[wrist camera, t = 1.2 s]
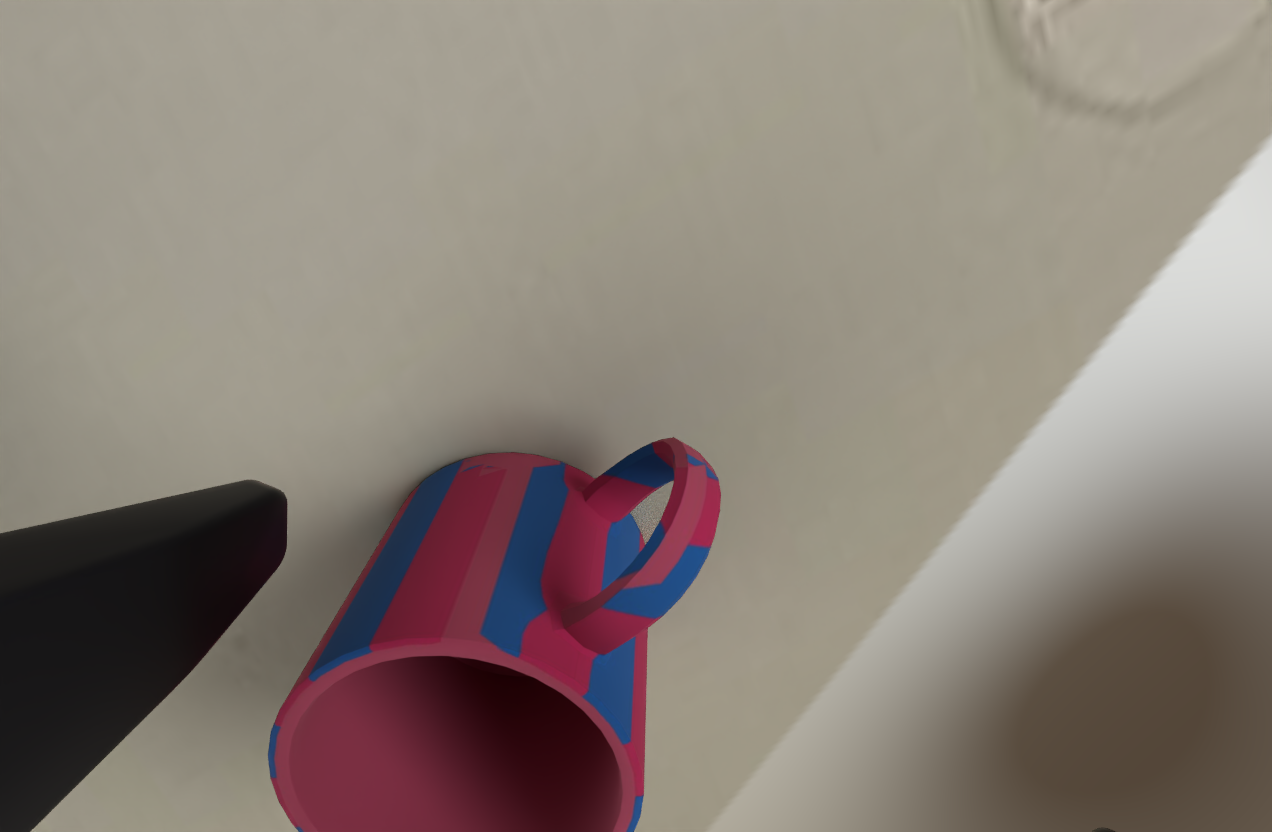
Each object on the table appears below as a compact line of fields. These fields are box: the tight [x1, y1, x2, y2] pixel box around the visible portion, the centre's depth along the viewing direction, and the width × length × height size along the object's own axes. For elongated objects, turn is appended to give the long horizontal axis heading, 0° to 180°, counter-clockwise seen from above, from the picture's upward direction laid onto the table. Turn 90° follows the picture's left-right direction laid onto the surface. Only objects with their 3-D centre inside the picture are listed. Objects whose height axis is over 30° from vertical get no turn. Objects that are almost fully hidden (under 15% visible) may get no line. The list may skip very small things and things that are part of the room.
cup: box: [268, 437, 721, 832], centre depth 16 cm, size 7×10×7 cm
